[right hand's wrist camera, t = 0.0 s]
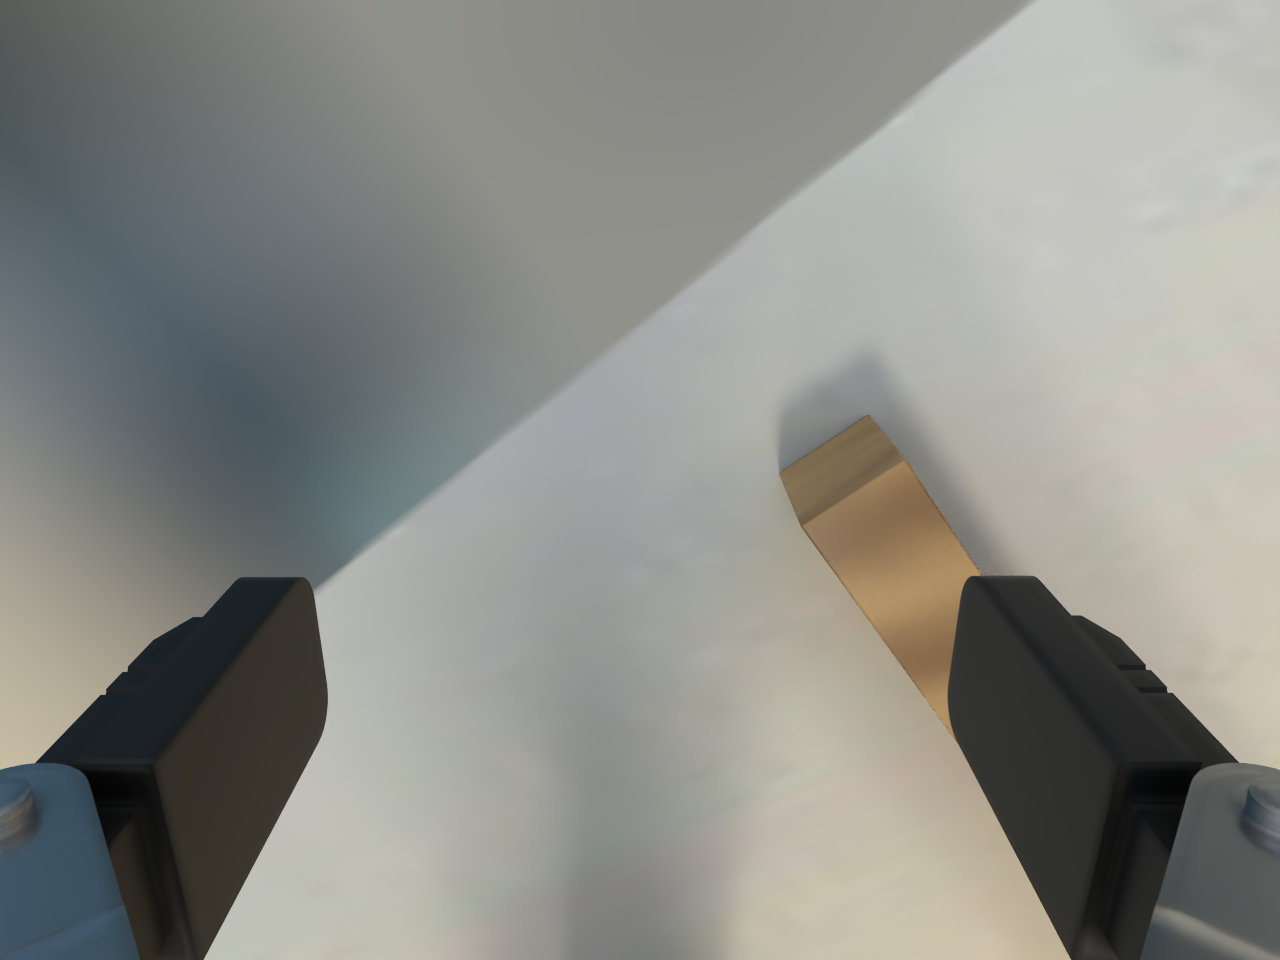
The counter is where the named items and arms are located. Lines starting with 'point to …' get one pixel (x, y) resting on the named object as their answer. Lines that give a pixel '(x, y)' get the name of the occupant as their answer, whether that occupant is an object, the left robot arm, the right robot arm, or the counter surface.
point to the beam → (886, 549)
